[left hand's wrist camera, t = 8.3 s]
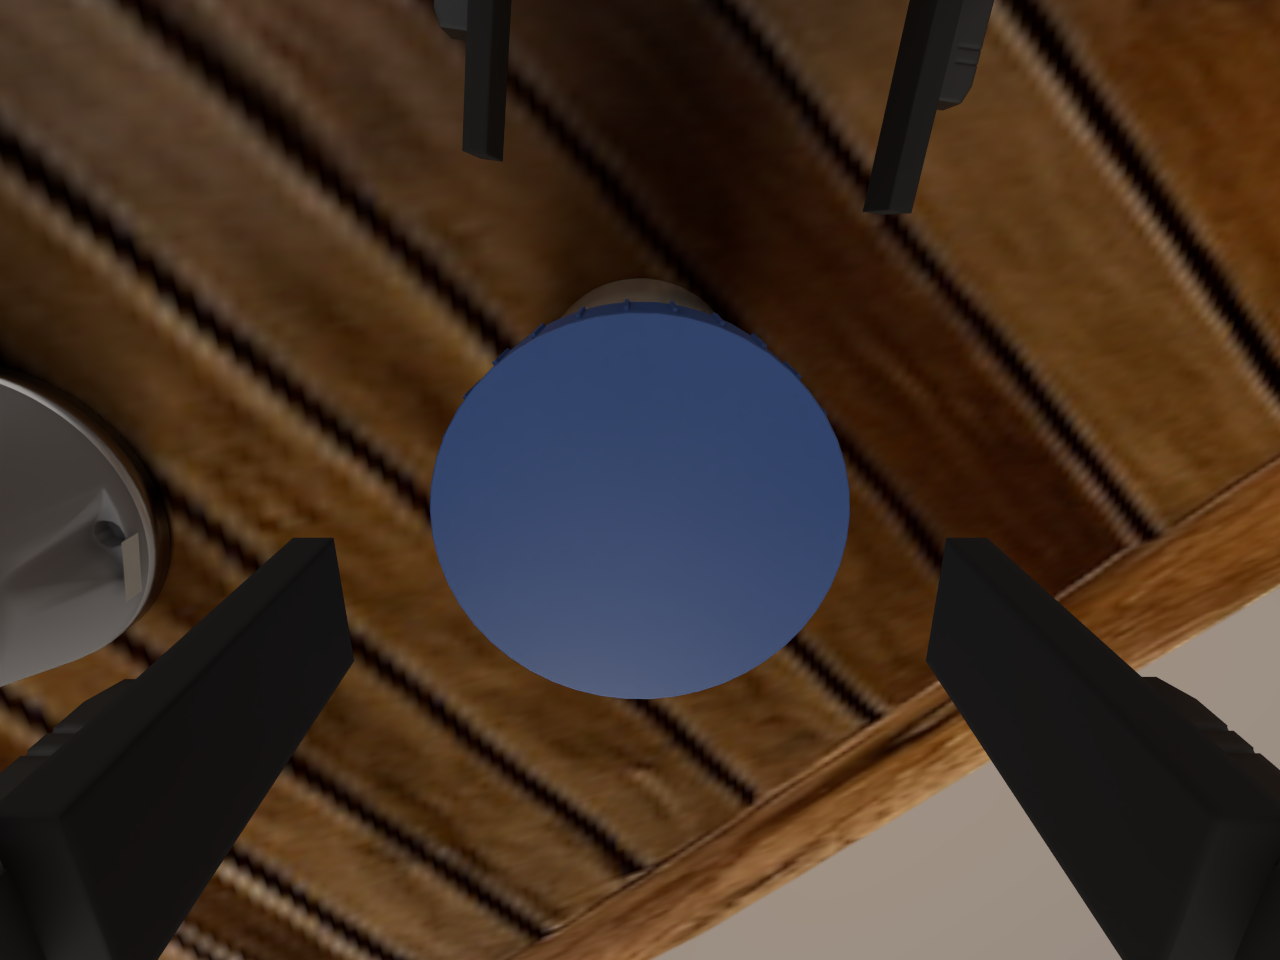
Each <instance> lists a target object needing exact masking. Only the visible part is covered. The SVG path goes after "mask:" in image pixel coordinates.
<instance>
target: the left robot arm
mask: <svg viewBox="0 0 1280 960" xmlns="http://www.w3.org/2000/svg"><path fill="white" fill-rule="evenodd" d="M169 561H170V534H169V526H168V522H167V517H166V513H165V510H164V507H163V504H162V501H161V498H160V496H159V493H158V491H157V489H156V486H155V484H154V482H153V481H152V479H151V477H150V475H149V473H148V472H147V470H146V468H145V467H144V465H143V464H142V462H141V461H140V459H139V458H138V456H137V455H136V454H135V453H134V451H133V450H132V449H131V448H130V446H129V445H128V444H127V443H126V442H125V440H124V439H123V438H122V437H121V436H120V435H119V434H118V433H117V432H116V431H115V430H114V429H113V428H112V427H111V426H110V425H109V424H108V423H107V422H106V421H105V420H103V419H102V418H101V417H100V416H99V415H97V414H96V413H95V412H94V411H92V410H91V409H90V408H89V407H87V406H86V405H84V404H83V403H81V402H80V401H78V400H77V399H75V398H74V397H72V396H71V395H69V394H67V393H65V392H64V391H62V390H60V389H59V388H57V387H55V386H53V385H50V384H48V383H46V382H44V381H42V380H40V379H37V378H35V377H32V376H30V375H27V374H24V373H21V372H18V371H14V370H11V369H8V368H3V367H0V687H1V686H4V685H7V684H10V683H12V682H15V681H18V680H21V679H24V678H27V677H29V676H32V675H35V674H38V673H41V672H44V671H47V670H49V669H52V668H55V667H58V666H61V665H64V664H67V663H70V662H72V661H75V660H77V659H80V658H82V657H84V656H86V655H88V654H91V653H93V652H95V651H97V650H99V649H101V648H103V647H104V646H106V645H107V644H109V643H110V642H112V641H113V640H114V639H116V638H117V637H118V636H119V635H121V634H122V633H123V632H125V631H126V630H127V629H128V628H130V627H131V626H132V625H133V624H135V623H136V622H137V621H138V620H139V619H141V618H142V617H143V616H144V614H145V613H146V612H147V611H148V610H149V609H150V608H151V606H152V605H153V603H154V602H155V601H156V599H157V597H158V595H159V594H160V592H161V590H162V587H163V585H164V582H165V579H166V576H167V572H168V568H169ZM353 662H354V658H353V652H352V646H351V640H350V634H349V628H348V622H347V616H346V610H345V604H344V598H343V592H342V586H341V580H340V574H339V568H338V562H337V556H336V550H335V544H334V538H292V539H291V540H290V541H289V542H288V543H287V544H286V545H285V546H284V547H282V548H281V549H280V550H279V551H278V552H277V553H276V554H275V555H274V556H272V557H271V558H270V559H269V560H268V561H267V562H266V563H265V564H264V565H262V566H261V567H260V568H259V569H258V570H257V571H256V572H255V573H254V574H252V575H251V576H250V577H249V578H248V579H247V580H246V581H245V582H243V583H242V584H241V585H240V586H239V587H238V588H237V589H236V590H235V591H233V592H232V593H231V594H230V595H229V596H228V597H227V598H226V599H225V600H223V601H222V602H221V603H220V604H219V605H218V606H217V607H216V608H215V609H213V610H212V611H211V612H210V613H209V614H208V615H207V616H206V617H205V618H203V619H202V620H201V621H200V622H199V623H198V624H197V625H196V626H195V627H193V628H192V629H191V630H190V631H189V632H188V633H187V634H186V635H185V636H183V637H182V638H181V639H180V640H179V641H178V642H177V643H176V644H175V645H173V646H172V647H171V648H170V649H169V650H168V651H167V652H166V653H165V654H163V655H162V656H161V657H160V658H159V659H158V660H157V661H156V662H154V663H153V664H152V665H151V666H150V667H149V668H148V669H147V670H146V671H144V672H143V673H142V674H141V675H140V676H139V677H138V678H137V679H124V680H122V681H121V682H119V683H117V684H115V685H113V686H112V687H110V688H108V689H106V690H104V691H103V692H101V693H99V694H97V695H95V696H94V697H92V698H90V699H88V700H87V701H85V702H83V703H82V704H81V705H80V706H79V707H78V708H76V709H75V710H74V711H73V712H72V713H71V714H69V715H68V716H67V717H66V718H65V719H64V720H62V721H61V722H60V723H59V724H58V725H57V726H55V727H54V731H53V733H47V734H46V735H45V736H44V737H43V738H41V739H40V740H39V741H38V742H37V743H36V744H34V745H33V746H32V747H31V748H30V749H29V750H28V753H27V755H26V756H20V757H19V758H18V759H17V760H16V761H15V762H13V763H12V764H11V765H10V766H9V767H8V768H6V769H5V770H4V771H3V772H2V773H1V774H0V960H158V958H159V957H160V955H161V954H162V952H163V951H164V949H165V948H166V946H167V945H168V943H169V942H170V940H171V939H172V937H173V936H174V934H175V933H176V931H177V929H178V928H179V926H180V925H181V923H182V922H183V920H184V919H185V917H186V916H187V914H188V913H189V911H190V910H191V908H192V907H193V905H194V904H195V902H196V901H197V899H198V898H199V896H200V895H201V893H202V891H203V890H204V888H205V887H206V885H207V884H208V882H209V881H210V879H211V878H212V876H213V875H214V873H215V872H216V870H217V869H218V867H219V866H220V864H221V863H222V861H223V860H224V858H225V856H226V855H227V853H228V852H229V850H230V849H231V847H232V846H233V844H234V843H235V841H236V840H237V838H238V837H239V835H240V834H241V832H242V831H243V829H244V828H245V826H246V825H247V823H248V822H249V820H250V818H251V817H252V815H253V814H254V812H255V811H256V809H257V808H258V806H259V805H260V803H261V802H262V800H263V799H264V797H265V796H266V794H267V793H268V791H269V790H270V788H271V787H272V785H273V783H274V782H275V780H276V779H277V777H278V776H279V774H280V773H281V771H282V770H283V768H284V767H285V765H286V764H287V762H288V761H289V759H290V758H291V756H292V755H293V753H294V752H295V750H296V749H297V747H298V745H299V744H300V742H301V741H302V739H303V738H304V736H305V735H306V733H307V732H308V730H309V729H310V727H311V726H312V724H313V723H314V721H315V720H316V718H317V717H318V715H319V714H320V712H321V710H322V709H323V707H324V706H325V704H326V703H327V701H328V700H329V698H330V697H331V695H332V694H333V692H334V691H335V689H336V688H337V686H338V685H339V683H340V682H341V680H342V679H343V677H344V676H345V674H346V672H347V671H348V669H349V668H350V666H351V665H352V663H353ZM926 662H927V663H928V665H929V666H930V668H931V669H932V671H933V672H934V674H935V676H936V677H937V679H938V680H939V682H940V683H941V685H942V686H943V688H944V689H945V691H946V692H947V694H948V695H949V697H950V698H951V700H952V701H953V703H954V704H955V706H956V707H957V709H958V710H959V712H960V714H961V715H962V717H963V718H964V720H965V721H966V723H967V724H968V726H969V727H970V729H971V730H972V732H973V733H974V735H975V736H976V738H977V739H978V741H979V742H980V744H981V745H982V747H983V749H984V750H985V752H986V753H987V755H988V756H989V758H990V759H991V761H992V762H993V764H994V765H995V767H996V768H997V770H998V771H999V773H1000V774H1001V776H1002V777H1003V779H1004V780H1005V782H1006V783H1007V785H1008V787H1009V788H1010V790H1011V791H1012V793H1013V794H1014V796H1015V797H1016V799H1017V800H1018V802H1019V803H1020V805H1021V806H1022V808H1023V809H1024V811H1025V812H1026V814H1027V815H1028V817H1029V818H1030V820H1031V821H1032V823H1033V825H1034V826H1035V827H1036V829H1037V831H1038V832H1039V834H1040V835H1041V837H1042V838H1043V840H1044V841H1045V843H1046V844H1047V846H1048V847H1049V849H1050V850H1051V852H1052V853H1053V855H1054V856H1055V858H1056V860H1057V861H1058V863H1059V864H1060V866H1061V867H1062V869H1063V870H1064V872H1065V873H1066V875H1067V876H1068V878H1069V879H1070V881H1071V882H1072V884H1073V885H1074V887H1075V888H1076V890H1077V891H1078V893H1079V894H1080V896H1081V898H1082V899H1083V901H1084V902H1085V904H1086V905H1087V907H1088V908H1089V910H1090V911H1091V913H1092V914H1093V916H1094V917H1095V919H1096V920H1097V922H1098V923H1099V925H1100V926H1101V928H1102V929H1103V931H1104V933H1105V934H1106V936H1107V937H1108V938H1109V940H1110V942H1111V943H1112V945H1113V946H1114V948H1115V949H1116V951H1117V952H1118V954H1119V955H1120V957H1121V958H1122V960H1280V770H1279V769H1278V768H1277V767H1275V766H1274V765H1273V764H1272V763H1271V762H1270V761H1268V760H1267V759H1266V758H1265V757H1264V756H1263V755H1261V754H1259V753H1254V751H1253V747H1252V746H1251V745H1250V744H1248V743H1247V742H1246V741H1245V740H1244V739H1242V738H1241V737H1240V736H1239V735H1238V734H1237V733H1235V732H1234V731H1229V730H1228V728H1227V725H1226V724H1225V723H1224V722H1223V721H1221V720H1220V719H1219V718H1218V717H1217V716H1215V715H1214V714H1213V713H1212V712H1211V711H1210V710H1208V709H1207V708H1206V707H1205V706H1204V705H1203V704H1201V703H1200V702H1199V701H1198V700H1197V699H1195V698H1193V697H1191V696H1190V695H1188V694H1186V693H1184V692H1182V691H1181V690H1179V689H1177V688H1175V687H1173V686H1172V685H1170V684H1168V683H1166V682H1164V681H1163V680H1161V679H1159V678H1157V677H1141V676H1140V675H1139V674H1138V673H1137V672H1136V671H1134V670H1133V669H1132V668H1131V667H1130V666H1129V665H1128V664H1127V663H1126V662H1124V661H1123V660H1122V659H1121V658H1120V657H1119V656H1118V655H1117V654H1115V653H1114V652H1113V651H1112V650H1111V649H1110V648H1109V647H1108V646H1107V645H1105V644H1104V643H1103V642H1102V641H1101V640H1100V639H1099V638H1098V637H1097V636H1095V635H1094V634H1093V633H1092V632H1091V631H1090V630H1089V629H1088V628H1087V627H1085V626H1084V625H1083V624H1082V623H1081V622H1080V621H1079V620H1078V619H1077V618H1075V617H1074V616H1073V615H1072V614H1071V613H1070V612H1069V611H1068V610H1067V609H1065V608H1064V607H1063V606H1062V605H1061V604H1060V603H1059V602H1058V601H1057V600H1055V599H1054V598H1053V597H1052V596H1051V595H1050V594H1049V593H1048V592H1047V591H1045V590H1044V589H1043V588H1042V587H1041V586H1040V585H1039V584H1038V583H1037V582H1035V581H1034V580H1033V579H1032V578H1031V577H1030V576H1029V575H1028V574H1026V573H1025V572H1024V571H1023V570H1022V569H1021V568H1020V567H1019V566H1018V565H1016V564H1015V563H1014V562H1013V561H1012V560H1011V559H1010V558H1009V557H1008V556H1006V555H1005V554H1004V553H1003V552H1002V551H1001V550H1000V549H999V548H998V547H996V546H995V545H994V544H993V543H992V542H991V541H990V540H989V539H988V538H946V544H945V550H944V556H943V562H942V568H941V574H940V580H939V586H938V592H937V598H936V604H935V610H934V616H933V622H932V628H931V634H930V640H929V646H928V652H927V658H926Z"/></svg>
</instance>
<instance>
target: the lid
mask: <svg viewBox="0 0 1280 960" xmlns="http://www.w3.org/2000/svg"><path fill="white" fill-rule="evenodd" d="M766 347H767V345H766V344H765V343H764V342H763V341H762V340H760V339H759V338H758V337H757V336H756V335H755V334H754V333H752V334H751V336H750V335H749V334H747V333H746V332H744V331H742V330H741V329H739V328H737V327H736V326H734V325H733V324H731V323H728V322H726V321H724V320H722V319H721V317H720V316H719V315H718V314H717V313H714V312H713V315H710V314H708V313H705V312H702V311H698V310H695V309H691V308H688V307H684V306H679V305H676V304H675V302H674V301H670V304H666V303H659V302H630V301H629V299H625V302H622V303H614V304H606V305H600V306H597V307H593V308H589V309H586V308H585V306H583V307H581V308H580V309H579V311H578V312H575V313H573V314H570V315H568V316H565V317H563V318H560V319H558V320H556V321H553V322H551V323H550V324H548V325H546V326H545V324H544V323H542V324H541V325H540V326H539V327H538V328H537V329H536V330H534V331H533V332H532V333H531V334H530V335H529V336H528V337H527V338H526V339H524V340H523V341H522V342H520V343H519V344H518V345H517V346H515V347H514V348H513V349H512V350H510V349H509V348H508V349H506V350H505V351H504V352H503V353H502V354H501V355H500V356H499V357H498V358H497V359H496V360H495V361H493V362H492V364H493V365H494V367H493V368H492V369H491V370H490V371H489V372H488V373H487V374H486V375H485V376H484V377H483V378H482V379H481V380H479V381H478V382H477V383H476V384H475V385H474V386H473V387H472V388H471V389H470V390H469V391H468V392H467V393H466V394H465V395H464V396H463V399H465V400H464V401H463V403H462V404H461V405H460V407H459V408H458V410H457V411H456V413H455V415H454V417H453V419H452V421H451V423H450V425H449V427H448V429H447V431H446V432H445V433H444V435H443V441H442V443H441V446H440V449H439V452H438V455H437V458H436V462H435V467H434V473H433V478H432V483H431V501H430V514H431V524H432V534H433V539H434V543H435V547H436V551H437V556H438V560H439V562H440V565H441V567H442V570H443V572H444V575H445V577H446V580H447V583H448V584H449V586H450V588H451V590H452V592H453V593H454V595H455V597H456V599H457V601H458V602H459V604H460V606H461V607H462V608H463V610H464V611H465V612H466V614H467V615H468V616H469V618H470V619H471V621H472V622H473V623H474V625H475V626H476V627H477V628H478V629H479V630H480V631H481V632H482V633H483V634H484V635H485V636H486V637H487V638H488V639H489V640H490V641H491V642H492V643H493V644H494V645H495V646H497V647H498V648H499V649H500V650H502V651H503V652H504V653H505V654H506V655H508V656H509V657H510V658H512V659H513V660H515V661H516V662H518V663H519V664H521V665H522V666H524V667H526V668H527V669H529V670H530V671H532V672H534V673H536V674H538V675H540V676H542V677H544V678H547V679H549V680H551V681H553V682H555V683H558V684H561V685H564V686H567V687H569V688H572V689H575V690H579V691H583V692H587V693H591V694H596V695H600V696H608V697H616V698H624V699H654V698H664V697H674V696H679V695H684V694H689V693H693V692H698V691H701V690H704V689H707V688H710V687H713V686H717V685H720V684H722V683H725V682H727V681H729V680H731V679H733V678H736V677H738V676H740V675H742V674H744V673H746V672H748V671H749V670H751V669H753V668H754V667H756V666H758V665H759V664H761V663H762V662H764V661H766V660H767V659H768V658H770V657H771V656H772V655H773V654H775V653H776V652H777V651H779V650H780V649H781V648H782V647H784V646H785V645H786V644H787V643H788V642H789V641H790V640H791V639H792V638H793V637H794V636H795V635H796V634H797V633H798V632H799V631H800V630H801V629H802V628H803V627H804V625H805V624H806V623H807V622H808V620H809V619H810V618H811V617H812V615H813V614H814V613H815V611H816V610H817V609H818V607H819V605H820V604H821V602H822V600H823V599H824V597H825V595H826V594H827V592H828V590H829V589H830V587H831V584H832V582H833V580H834V577H835V575H836V573H837V570H838V568H839V565H840V562H841V559H842V555H843V551H844V548H845V544H846V540H847V533H848V525H849V517H850V502H849V485H848V478H847V472H846V466H845V462H844V459H843V454H842V451H841V449H840V446H839V443H838V440H837V437H836V435H835V433H834V431H833V429H832V427H831V425H830V423H829V421H828V419H827V417H826V415H827V413H826V411H825V410H824V409H823V408H822V407H821V406H820V405H819V404H818V403H817V401H816V400H815V398H814V397H813V395H812V394H811V392H810V391H809V390H808V389H807V388H806V387H805V386H804V385H803V383H802V382H801V381H800V379H801V378H802V377H801V376H800V375H799V374H798V373H797V372H796V371H795V370H794V369H793V368H792V367H791V366H790V365H789V364H788V363H787V362H785V361H784V362H783V363H782V362H781V361H780V360H779V359H778V358H777V357H776V356H775V355H774V354H773V353H772V352H770V351H769V350H768V349H767V348H766Z"/></svg>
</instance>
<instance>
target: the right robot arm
mask: <svg viewBox="0 0 1280 960" xmlns="http://www.w3.org/2000/svg"><path fill="white" fill-rule="evenodd" d="M993 2H994V0H910V2H909V6H908V11H907V15H906V20H905V24H904V29H903V33H902V38H901V42H900V47H899V51H898V56H897V60H896V65H895V69H894V74H893V78H892V83H891V87H890V92H889V96H888V101H887V105H886V110H885V114H884V119H883V123H882V128H881V132H880V137H879V141H878V146H877V150H876V155H875V159H874V164H873V168H872V173H871V177H870V182H869V186H868V191H867V195H866V200H865V204H864V209H863V212H870V213H877V214H903V213H911V212H912V208H913V204H914V200H915V196H916V191H917V187H918V183H919V179H920V175H921V171H922V167H923V163H924V159H925V155H926V151H927V147H928V142H929V138H930V134H931V130H932V126H933V122H934V118H935V114H936V110H945V109H948V108H950V107H953V106H956V105H958V104H961V103H962V101H963V100H964V98H965V96H966V95H967V93H968V92H969V90H970V88H971V87H972V84H973V80H974V76H975V72H976V68H977V67H976V66H977V64H978V61H979V57H980V53H981V52H980V50H981V48H982V45H983V41H984V37H985V33H986V29H987V26H988V22H989V18H990V14H991V10H992V6H993ZM434 9H435V12H436V15H437V18H438V22H439V25H440V27H441V28H442V29H443V30H444V31H445V32H446V33H447V34H448V35H449V36H450V37H451V38H452V39H459V40H466V64H465V92H464V120H463V148H462V151H464V152H467V153H469V154H471V155H474V156H476V157H478V158H481V159H488V160H495V161H502V162H503V144H504V126H505V107H506V89H507V70H508V52H509V33H510V15H511V0H434Z"/></svg>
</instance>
